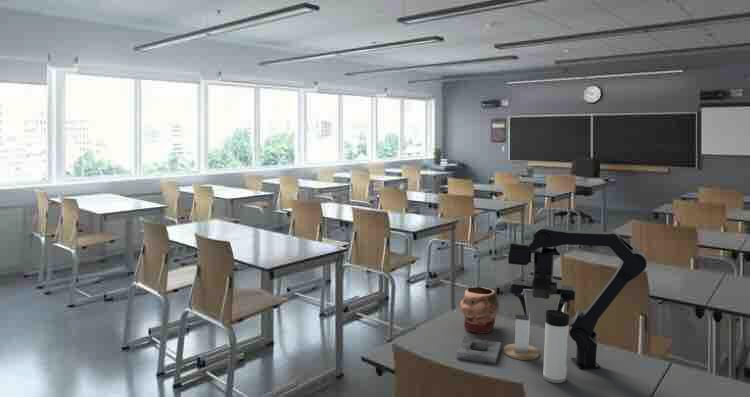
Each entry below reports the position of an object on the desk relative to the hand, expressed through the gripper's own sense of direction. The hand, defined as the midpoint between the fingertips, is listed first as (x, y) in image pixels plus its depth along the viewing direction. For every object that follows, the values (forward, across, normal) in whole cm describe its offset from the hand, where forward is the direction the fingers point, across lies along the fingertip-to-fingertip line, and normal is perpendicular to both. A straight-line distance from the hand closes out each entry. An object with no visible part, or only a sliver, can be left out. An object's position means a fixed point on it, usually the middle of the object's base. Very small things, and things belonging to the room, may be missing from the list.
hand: (541, 316), depth 166 cm
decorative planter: (+13, -21, +18) cm, 31 cm away
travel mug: (+13, +5, -13) cm, 19 cm away
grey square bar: (+12, -5, +1) cm, 14 cm away
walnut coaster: (+13, -5, +1) cm, 14 cm away
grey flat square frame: (+13, -18, -4) cm, 23 cm away
